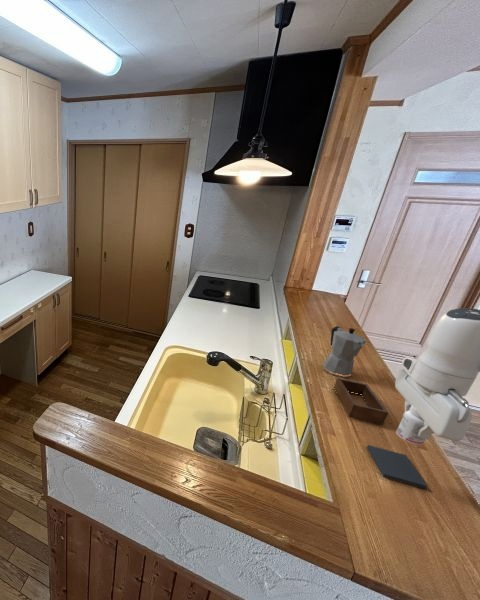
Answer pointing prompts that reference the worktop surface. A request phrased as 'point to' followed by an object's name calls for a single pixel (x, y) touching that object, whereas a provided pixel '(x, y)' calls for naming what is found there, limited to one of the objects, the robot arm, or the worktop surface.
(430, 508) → the worktop surface
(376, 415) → the storage crate
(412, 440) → the pill bottle
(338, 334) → the coffeepot
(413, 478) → the rubber mat
